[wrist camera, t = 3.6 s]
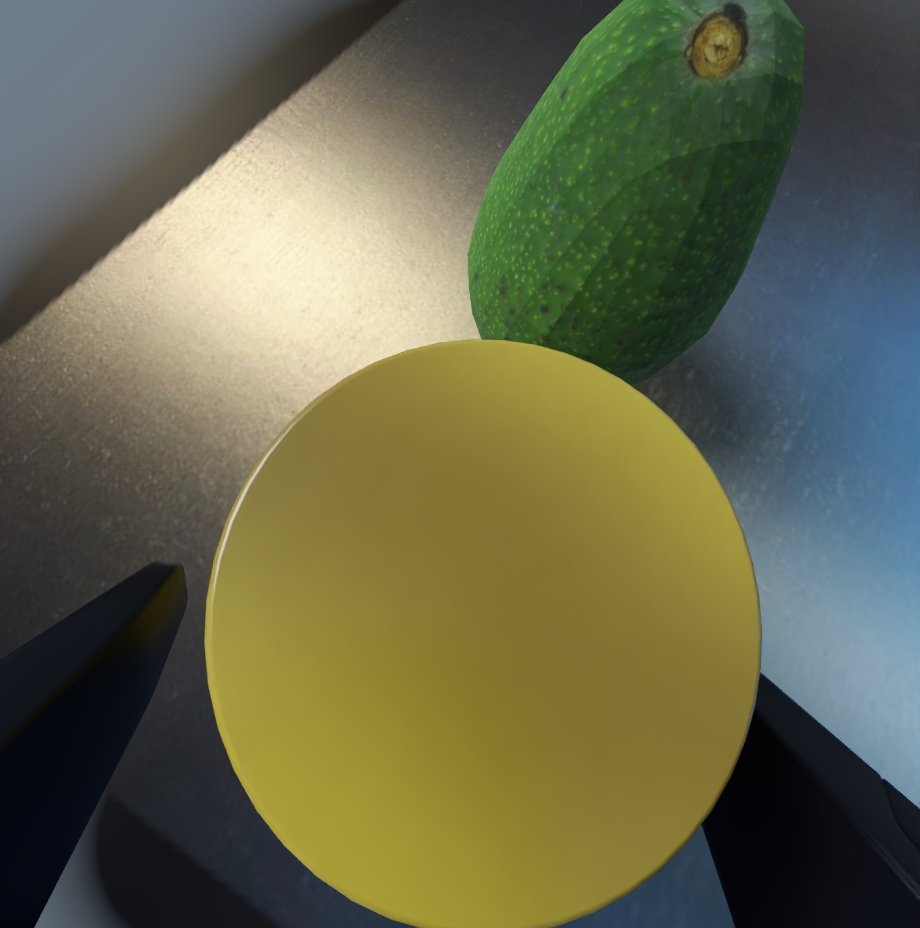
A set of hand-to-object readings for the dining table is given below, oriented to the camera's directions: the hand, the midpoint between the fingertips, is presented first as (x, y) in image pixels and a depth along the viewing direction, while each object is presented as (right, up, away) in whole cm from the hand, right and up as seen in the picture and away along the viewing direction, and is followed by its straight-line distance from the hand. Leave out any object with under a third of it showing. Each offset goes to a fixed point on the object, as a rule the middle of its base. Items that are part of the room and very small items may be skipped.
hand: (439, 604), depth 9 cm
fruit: (+4, +8, +11) cm, 14 cm away
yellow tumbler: (-1, -2, +8) cm, 8 cm away
